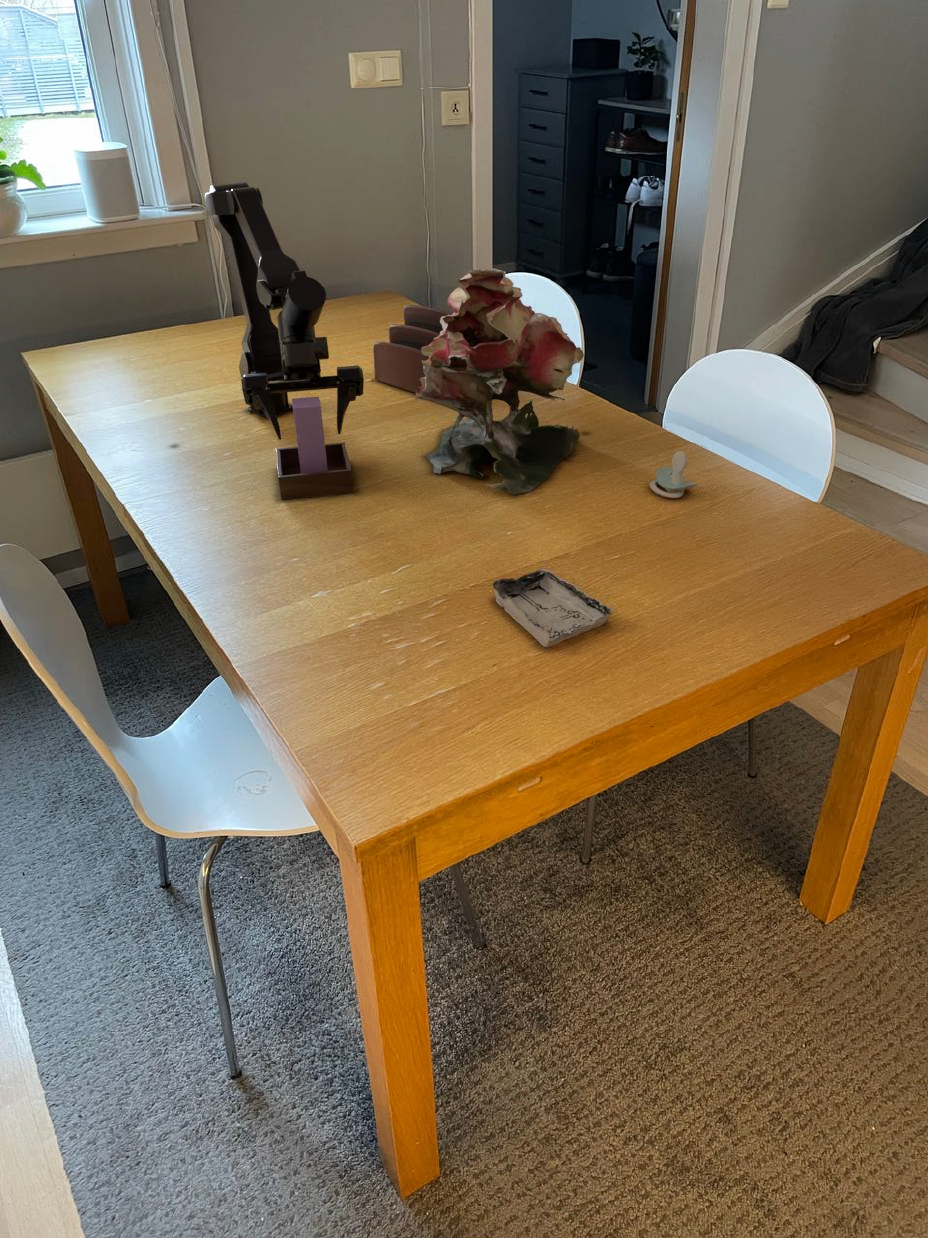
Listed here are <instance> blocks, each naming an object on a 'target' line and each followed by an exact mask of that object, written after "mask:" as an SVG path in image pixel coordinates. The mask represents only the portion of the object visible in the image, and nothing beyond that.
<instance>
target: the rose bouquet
mask: <svg viewBox="0 0 928 1238" xmlns="http://www.w3.org/2000/svg"><path fill="white" fill-rule="evenodd" d="M506 274H507V272H506V271H504V270H502V269H497V268H486V269H485V270H481V269H472V270H469V271H467V274H466V275H464V276H463V277H461V278H460V279H458V280H457V279H456V282H457V283H458V287H457V288H455V289H453V291H452V292H451V293H450V294H449V295H448V298H447V299H446V301H447V303H446V305H447V306H448V308H451V309H452V310H453V312H452V313H453V315H447V316H443V317H441V320H440V323H441V325H442V328H443V330H442V331H441V332H440V335H439V336H438V337H436V338H434V341H432V343H431V344H429V345H428V346H424V347H422V348H421V353H422V354H423V355H426V356H429V359H428V360H426V361H422V364H423V365H424V367H423V369H424V371H423V372H424V374H425V376H426V377H422V378H420V379H419V380H420V381H421V383H422V386H421V387H417V388H416V393H415V399H418V400H422V401H427V402H431V403H433V404H436V405H440V406H443V407H445V408H447V409H449V410H452V411H455V412H457V413H458V415H457V416H456V418H455V420H454V423H453V426H452V427H449V428H448V429H446V430H444V431H443V433H442V434H441V436H442V437H441V441H440V445H439V446H438V448H437V449H436V450H435V451H434V452H432V453H430V454H428V455H426V456H425V457H426V458H427V459H428V461H429V462H430V463H431V465H433V466H432V467H433V473H434V474H439V475H441V474H444V473H446V472H453V471H455V472H457V473H461V474H466V475H468V476H472V477H475V478H476V479H481V480H484V479H485V478H486V476H485V474H483V473H482V472H480V471H478V469H479V467H481V466H484V465H486V464H491V463H492V462H491V460H492V459H493V458H495V459H497V460H495V461H494V462H493V472H494V473H495V474H498V475H499V476H500V477H501V478H502V479H503V480H502V481H501V482H499V483H497V482H496V483H485V486H488V487H490V488H494V489H497V490H500V491H504V492H507V493H510V494H512V495H513V496H517V495H521V494H523V493H525V494H526V493H530V492H531V491H532V490H534V489H535V488H536V487H538V486H539V485H540V484H542V483H543V482H545V481H546V480H548V478H549V477H550V475H551V474H552V473H553V471H554V470H556V465H557V464H558V463H559V462H561V461H562V460H564V459H566V458H567V457H568V456H569V455H570V454H572V451H573V450H574V448H575V447H574V446H575V444H576V442H578V441H580V436H581V434H580V432H579V429H577V428H575V429H574V425H572V427H569V426H567V425H565V426H564V425H560V424H554V425H552V424H545V425H539V424H540V421H539V418H538V416H537V415H536V413H535V410H534V405H533V400H530V401H529V402H527V403H525V404H524V405H523V406H522V407H521V408H519V406H520V402H521V400H520V398H519V392H525V393H530V394H532V395H533V394H534V395H536V396H539V397H541V398H543V399H547V400H551V401H554V402H556V400H557V399H558V400H561V401H566V399H565V398H562V397H559V396H556V395H553V394H551V393H554V392H556V391H564V387H565V385H566V383H567V380H568V379H569V377H571V376H572V375H573V366H574V365H576V364H580V363H581V361H582V360H583V359H584V356H585V354H584V351H583V350H582V348H581V347H580V346H578V347H577V345H576V344H575V343H574V341H572V340H571V338H570V337H569V336H568V333H567V332H565V331H564V330H563V327H562V323H560V322H559V321H558V319H557V317H554V316H549V315H547V314H545V313H542V312H536V311H534V310H533V306H531V305H525V304H524V303H523V302H522V300H521V298H522V297H523V292H522V289H521V287H518V286H514V285H515V283H514V282H513V281H512V280H511V279H510V278H509V277H507V276H506ZM495 400H496V401H502V402H504V403H506V404H507V405H508V406H509V412H508V415H507V416H506V417H504V418H503V419H501V420H494V415H493V405H492V404H493V403H492V402H493V401H495ZM463 418H464V419H463Z"/></svg>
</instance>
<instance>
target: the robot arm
mask: <svg viewBox="0 0 928 1238" xmlns="http://www.w3.org/2000/svg"><path fill="white" fill-rule="evenodd" d="M204 202H205V207H206V210H207V213H208V215H209V216H211V219H212V223H213V227H214V228H215V229H216V231H218V233H220V235H221V236H222V237H223V238H224V239H225V241H226V242H227V246H228V250H229V255H230V259H231V264H232V268H233V272H234V276H235V281H236V285H237V289H238V294H239V299H240V304H241V307H242V313H243V316H244V320H245V324H246V327H245V331H244V334H243V338H242V340H241V348H242V352H241V353H240V360H239V364H238V370H239V374H240V377H241V379H240V381H241V390H242V395H243V398H244V399H243V400H244V403H245V405H248V407H247V409H246V410H247V412H249V413H250V412H251V413H253V414H256V415H258V416H261V417H264V418H267V419H268V421H269V423H270V425H271V427H272V429H273V431H274V434H275V435H276V437H277V439H278V440H279V441H281V440H282V433H281V427H280V422H279V419H278V415H281V414H283V413H286V412H289V411H293V405H292V403H289V396H288V393H294V392H305V391H308V392H309V391H320V390H331V389H336V430H337V435H341V434H342V429H343V425H344V420H345V415H346V414H347V413H346V412H347V410H348V407H349V404H350V402H355V401H356V400H357V397H361V396H362V395H364V384H365V379H364V371H363V368H361V367H360V366H359V365H345V366H337V367H336V375H325V376H321V372H322V369H321V367H322V366H321V361H322V360H329V358H330V352H329V345H328V344H329V343H328V338H327V336H318V337H316V329H315V326H316V325H317V324H318V322H319V320H320V317H321V314H322V311H323V309H324V305H325V303H326V301H327V292H326V291H327V290H326V288H325V287H324V286H323V285H322V284H321V283H320V282H319V281H318V280H316V279H315V278H313V277H310V276H308V275H307V272H306V270H305V269H303V270H301V269H300V267H299V264H298V263H297V261H296V260H295V259H293V258H292V257H290V256H289V255H287V254H285V252H284V251H283V249H282V247H281V245H280V242H279V240H278V238H277V236H276V233H275V231H274V229H273V226H272V224H271V222H270V219H269V217H268V215H267V212H266V210H265V207H264V202H263V197H262V193H261V191H260V187H254V186H250V185H249V184H248V183H247V182H246V181H243V182H234V183H233V182H232V183H224V184H223V183H222V184H213V185H210V188H209V192H206V193H205V194H204ZM280 309H281V311H280V312H279V313H278V315H277V316H276V322H277V326H276V324H274V322H273V320H272V315H271V312H270V311H274V310H280Z"/></svg>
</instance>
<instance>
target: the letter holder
mask: <svg viewBox="0 0 928 1238" xmlns="http://www.w3.org/2000/svg"><path fill="white" fill-rule="evenodd" d="M402 312H403V323H404V324H397V323H396V324H391V325H389V327H388V341H389V342H387V341H376V342H374V343H373V347H372V352H373V370H374V371H373V373H374V380H375V381H377V382H380V383H384V384H387V385H390V386H393V387H395V388H399V389H402V390H405V391H408V392H411V393H415V394H416V388H417V387H421V386H422V383H421V381H420V380H419V379H420V378H422V377H426V376H425V374H424V372H423V371H424V369H423V367H424V365H423V364H422V361H426V360H428V359H429V356H426V355H423V354H422V353H421V348H422V347H424V346H428V345H429V344H431V343H432V341H434V338H436V337H438V336H439V335H440V332H441V331H442V330H443V328H442V325H441V323H440V320H441V317H443V316H447V315H453V313H454V312H451V311H447V310H443V309H439V308H436V307H431V306H423V305H416V304H406V305H404V307H403V311H402Z"/></svg>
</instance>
